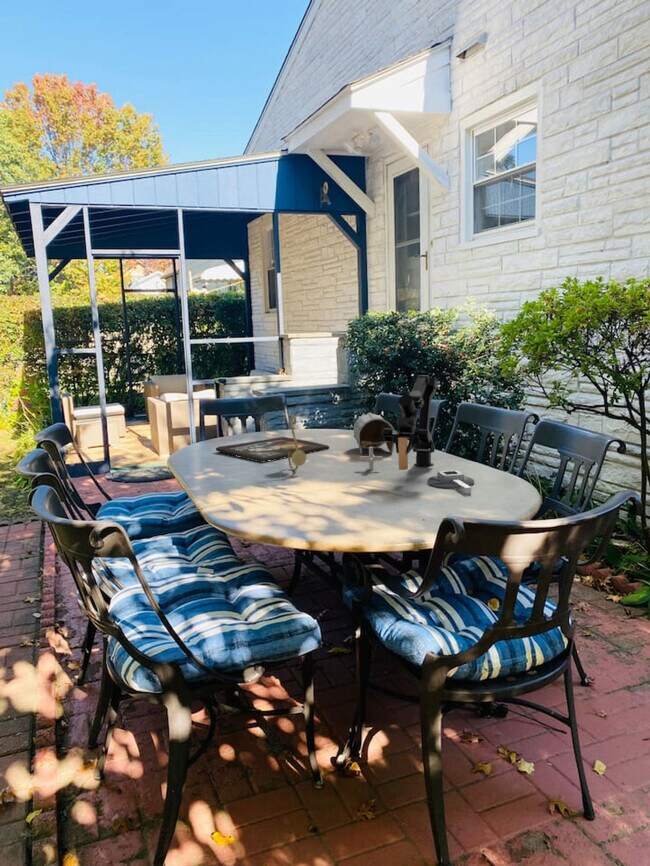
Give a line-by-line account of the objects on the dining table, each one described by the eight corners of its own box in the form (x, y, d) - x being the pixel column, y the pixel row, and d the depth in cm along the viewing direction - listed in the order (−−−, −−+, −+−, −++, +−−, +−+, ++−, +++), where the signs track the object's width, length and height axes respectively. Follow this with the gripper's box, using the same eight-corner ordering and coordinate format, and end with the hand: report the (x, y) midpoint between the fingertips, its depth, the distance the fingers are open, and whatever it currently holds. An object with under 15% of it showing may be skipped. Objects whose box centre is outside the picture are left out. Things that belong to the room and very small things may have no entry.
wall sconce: (310, 472, 280) (308, 415, 276) (289, 475, 276) (287, 417, 272) (298, 466, 293) (296, 412, 289) (279, 468, 289) (276, 413, 285)
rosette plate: (421, 479, 262) (421, 469, 261) (463, 476, 265) (463, 466, 264) (444, 496, 235) (444, 485, 235) (491, 492, 238) (491, 481, 238)
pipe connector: (381, 472, 276) (381, 449, 274) (358, 472, 278) (357, 449, 276) (384, 467, 285) (383, 445, 284) (361, 467, 287) (361, 444, 286)
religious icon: (213, 453, 331) (213, 447, 331) (282, 441, 361) (282, 435, 360) (260, 464, 302) (260, 458, 301) (330, 450, 332) (330, 444, 331)
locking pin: (402, 467, 258) (402, 436, 256) (409, 468, 255) (409, 437, 253) (396, 469, 256) (396, 438, 254) (403, 470, 253) (403, 439, 251)
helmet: (398, 457, 309) (385, 443, 339) (398, 419, 306) (385, 409, 335) (360, 459, 307) (350, 445, 337) (359, 421, 304) (349, 410, 333)
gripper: (382, 408, 259) (374, 440, 251) (428, 409, 252) (421, 442, 244) (388, 424, 267) (381, 456, 259) (433, 426, 260) (426, 458, 252)
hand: (402, 453), depth 253 cm, fingers closed on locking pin, 4 cm apart
